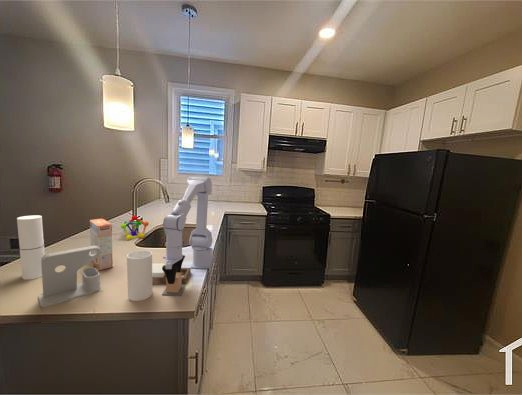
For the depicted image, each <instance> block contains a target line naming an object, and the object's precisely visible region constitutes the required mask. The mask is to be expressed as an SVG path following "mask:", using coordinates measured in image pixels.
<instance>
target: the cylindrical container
mask: <svg viewBox="0 0 522 395" xmlns="http://www.w3.org/2000/svg"><path fill="white" fill-rule="evenodd" d="M16 222H17V224H16V225H17V234H18V245H19V255H20V263H21V264H20V265H21V266H20V268H21V277H22V279H23V280H25V281H26V280H27V281H28V280H36V279H39V278H42V266H41V258H42V257H43V256H44V255H46V254H45V243H44V242H45V240H44V228H43V216H42V215H38V214H37V215H35V214H33V215H23V216H19V217H16Z"/></svg>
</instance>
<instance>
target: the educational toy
mask: <svg viewBox="0 0 522 395" xmlns="http://www.w3.org/2000/svg"><path fill="white" fill-rule="evenodd" d="M132 221H135V222H132ZM149 224H150V223H149V222H148V221H144V220H143V221H142V220H141V219H140V218H138V216H136V215H132V216H131V219H130V220H128V221H124V222H123V223H122V224H120V228H121V229H122V230H123V231H124V233H125V235H126V236H125V239H126V240H127V241H130V240H131V239H134V238H139V239H144V238H146V234H145V231H146V228H147V227H148V226H149ZM130 225H136V227H135V230H133V229H132V228H131V226H130ZM141 225H143V230H142V232H141V233H137V230H138V229H139V227H140V226H141ZM126 228H127V229H129V231H130V232H131V233H130V234H129V233H128V231H127V229H126Z"/></svg>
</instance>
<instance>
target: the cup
mask: <svg viewBox="0 0 522 395" xmlns="http://www.w3.org/2000/svg"><path fill="white" fill-rule="evenodd" d="M152 263H153V252H152V251H151V250H147V249H145V250H144V249H141V250H136V251H131V252H129V253H127V255H126V272H127V275H126V276H127V298H128V300H129V301H132V302H139V301H144V300H147V299H149V298H150V297H151V296H152V295H153V284H152Z"/></svg>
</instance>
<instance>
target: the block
mask: <svg viewBox="0 0 522 395" xmlns="http://www.w3.org/2000/svg"><path fill="white" fill-rule="evenodd" d="M182 275H183V274H182V273H180V272H176V277H175V282H174V284H168V281H167V278H166V284H165V285H166V286H165V289H166V292H174V293H178V292H179V290H180V288H181V285H182V284H181V280H182V277H183V276H182Z"/></svg>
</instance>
